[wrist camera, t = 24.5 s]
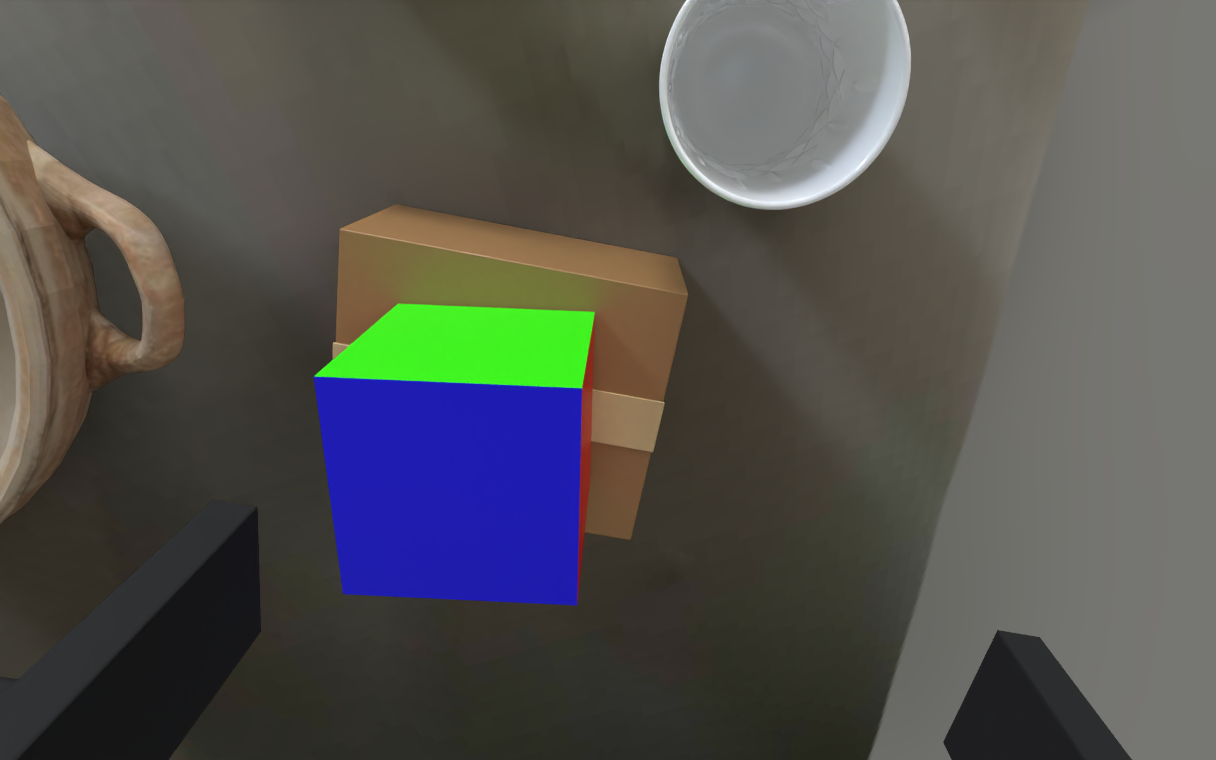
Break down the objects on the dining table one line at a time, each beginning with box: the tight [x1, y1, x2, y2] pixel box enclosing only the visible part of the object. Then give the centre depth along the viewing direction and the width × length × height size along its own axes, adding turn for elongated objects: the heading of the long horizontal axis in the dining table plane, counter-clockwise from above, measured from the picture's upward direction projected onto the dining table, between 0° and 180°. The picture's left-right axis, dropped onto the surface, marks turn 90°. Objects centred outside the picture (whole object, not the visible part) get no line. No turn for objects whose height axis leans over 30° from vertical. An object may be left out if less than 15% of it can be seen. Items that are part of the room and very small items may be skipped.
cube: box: [314, 304, 595, 605], centre depth 26 cm, size 8×8×8 cm
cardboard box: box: [332, 204, 688, 540], centre depth 33 cm, size 14×12×7 cm
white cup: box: [659, 0, 911, 210], centre depth 26 cm, size 8×8×10 cm
